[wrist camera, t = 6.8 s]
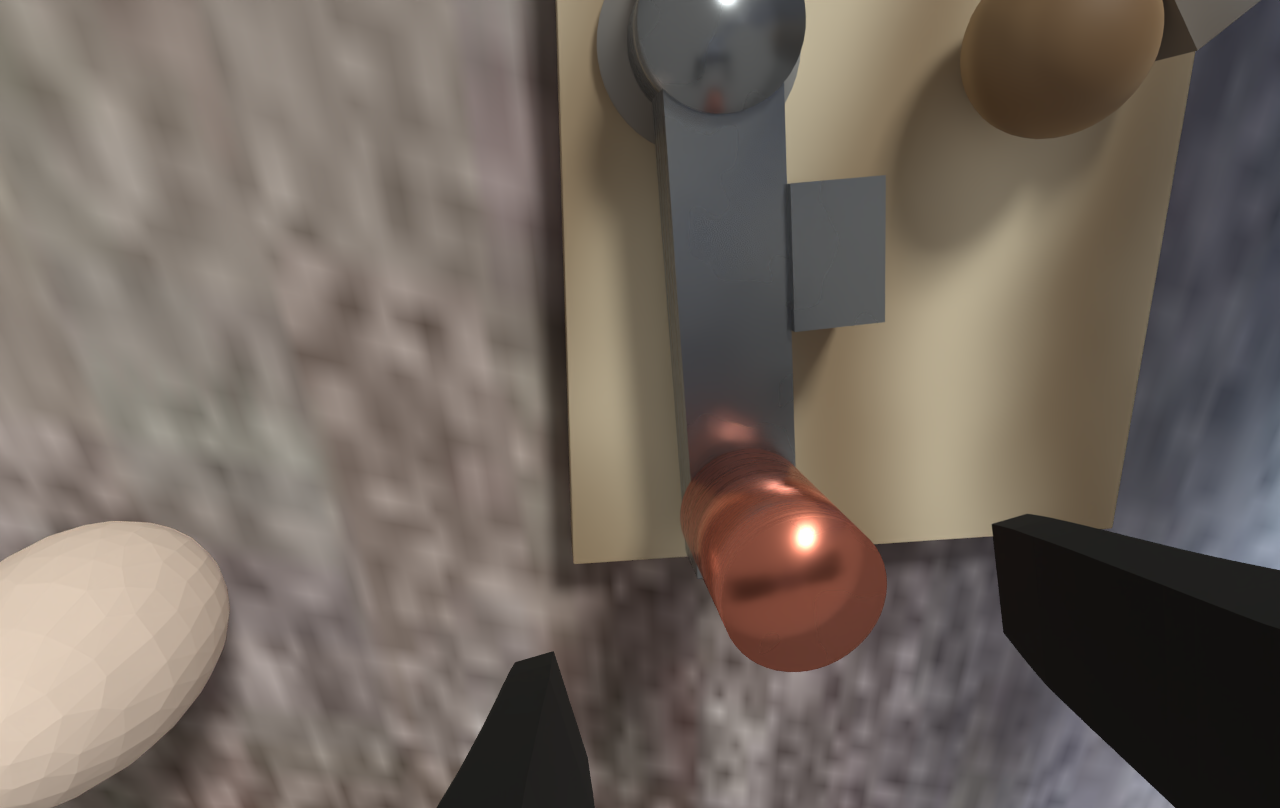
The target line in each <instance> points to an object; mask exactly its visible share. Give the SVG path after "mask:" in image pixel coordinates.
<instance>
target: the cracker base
mask: <svg viewBox="0 0 1280 808" xmlns="http://www.w3.org/2000/svg"><path fill="white" fill-rule="evenodd" d="M804 1H805V9H806V29H805V36H804V42H803V45H802V49H801V52H800V55H799V57H798V60H797V62H796V64H795V66H794V68H793V70H792V72H791V73H790V75H789V76H788V78H787V79H786V80H785V82H784V98H785V131H786V164H787V184H789V183H800V182H812V181H823V180H835V179H846V178H858V177H869V176H881V175H886V240H885V322H882V323H873V324H863V325H854V326H845V327H836V328H827V329H818V330H809V331H800V332H794V331H792V363H793V397H794V430H795V463H796V468H797V469H798V470H799V471H800V472H801V473H802V474H803V475H804V476H805V477H806V478H807V479H808V480H809V481H810V482H811V483H812V484H813V485H814V486H815V487H816V488H817V489H819V490H820V491H821V492H822V493H823V494H824V495H825V496H826V497H827V498H828V499H829V500H830V501H831V502H832V503H833V504H834V505H835V506H836V507H837V508H838V509H839V510H840V511H841V512H842V513H843V514H844V515H845V516H846V517H847V518H848V519H849V520H850V521H851V522H852V523H853V524H855V525H856V526H857V527H858V528H859V529H860V530H861V531H862V532H863V533H864V534H865V535H866V536H867V537H868V538H869V539H870V540H871V541H872V543H873V544H884V543H899V542H914V541H929V540H944V539H959V538H974V537H989V536H993V532H992V524H993V523H997V522H1000V521H1004V520H1007V519H1010V518H1014V517H1017V516H1021V515H1024V514H1033V515H1039V516H1045V517H1050V518H1055V519H1059V520H1064V521H1068V522H1072V523H1077V524H1081V525H1085V526H1089V527H1093V528H1097V529H1109V528H1112V526H1113V520H1114V514H1115V508H1116V503H1117V497H1118V491H1119V486H1120V480H1121V474H1122V468H1123V463H1124V457H1125V451H1126V445H1127V440H1128V434H1129V428H1130V423H1131V417H1132V411H1133V405H1134V400H1135V394H1136V388H1137V383H1138V377H1139V371H1140V365H1141V360H1142V354H1143V348H1144V342H1145V337H1146V331H1147V325H1148V320H1149V314H1150V308H1151V302H1152V297H1153V291H1154V285H1155V279H1156V274H1157V268H1158V262H1159V257H1160V251H1161V245H1162V239H1163V234H1164V228H1165V222H1166V216H1167V211H1168V205H1169V199H1170V194H1171V188H1172V182H1173V176H1174V171H1175V165H1176V159H1177V153H1178V148H1179V142H1180V136H1181V131H1182V125H1183V119H1184V113H1185V108H1186V102H1187V96H1188V90H1189V85H1190V79H1191V73H1192V68H1193V62H1194V56H1195V51H1198V50H1199V49H1200V48H1201V47H1203V46H1204V45H1205V44H1207V43H1208V42H1209V41H1210V40H1212V39H1213V38H1214V37H1215V36H1217V35H1218V34H1219V33H1220V32H1222V31H1223V30H1224V29H1225V28H1227V27H1228V26H1229V25H1230V24H1232V23H1233V22H1234V21H1235V20H1237V19H1238V18H1239V17H1240V16H1242V15H1243V14H1244V13H1246V12H1247V11H1248V10H1249V9H1251V8H1252V7H1253V6H1254V5H1256V4H1257V3H1258V2H1259V1H1261V0H804ZM635 2H636V0H555V3H556V36H557V70H558V103H559V137H560V170H561V204H562V237H563V271H564V304H565V338H566V371H567V405H568V438H569V472H570V505H571V539H572V552H573V561H574V564H582V563H597V562H612V561H628V560H643V559H658V558H673V557H688V556H687V554H686V550H685V538H684V536H683V532H682V529H681V522H680V510H681V503H682V496H681V483H680V470H679V457H678V443H677V430H676V417H675V403H674V390H673V377H672V363H671V350H670V337H669V323H668V310H667V297H666V283H665V270H664V257H663V244H662V230H661V217H660V204H659V190H658V177H657V164H656V150H655V137H654V124H653V110H652V102H651V101H650V100H649V99H648V98H647V97H646V96H645V94H644V93H643V91H642V90H641V89H640V87H639V85H638V83H637V81H636V79H635V77H634V74H633V72H632V69H631V66H630V62H629V57H628V50H627V32H628V24H629V19H630V15H631V12H632V9H633V7H634V4H635Z"/></svg>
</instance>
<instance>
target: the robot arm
mask: <svg viewBox="0 0 1280 808" xmlns="http://www.w3.org/2000/svg"><path fill="white" fill-rule="evenodd" d="M992 532H993V541H994V550H995V559H996V568H997V578H998V587H999V596H1000V605H1001V614H1002V623H1003V632H1004V634H1005V635H1006V636H1007V638H1008V639H1009V640H1010V641H1011V643H1012V644H1013V645H1014V647H1015V648H1016V649H1017V650H1018V652H1019V653H1020V654H1021V655H1022V657H1023V658H1024V659H1025V660H1026V662H1027V663H1028V664H1029V665H1030V666H1031V668H1032V669H1033V670H1034V671H1035V672H1036V674H1037V675H1038V676H1039V677H1040V678H1041V679H1042V681H1043V682H1044V683H1045V684H1046V685H1047V686H1048V687H1049V688H1050V689H1051V690H1052V691H1053V692H1054V693H1055V694H1056V695H1057V696H1058V697H1059V698H1060V699H1061V700H1062V701H1063V702H1064V703H1065V704H1066V705H1067V706H1068V707H1069V708H1070V709H1071V710H1072V711H1074V712H1075V713H1076V714H1077V715H1078V716H1079V717H1080V718H1081V719H1082V720H1083V721H1084V722H1085V723H1086V724H1087V725H1088V726H1089V727H1090V728H1091V729H1092V730H1093V731H1094V732H1096V733H1097V734H1098V735H1099V736H1100V737H1101V738H1102V739H1103V740H1104V741H1105V742H1106V743H1107V744H1108V745H1109V746H1110V747H1111V748H1113V749H1114V750H1115V751H1116V752H1117V753H1118V754H1119V755H1120V756H1121V757H1122V758H1123V759H1124V760H1125V761H1126V762H1127V763H1128V764H1130V765H1131V766H1132V767H1133V768H1134V769H1135V770H1136V771H1137V772H1138V773H1139V774H1140V775H1141V776H1142V777H1143V778H1144V779H1145V780H1147V781H1148V782H1149V783H1150V784H1151V785H1152V786H1153V787H1154V788H1155V789H1156V790H1157V791H1158V792H1159V793H1160V794H1161V795H1162V796H1164V797H1165V798H1166V799H1167V800H1168V801H1169V802H1170V803H1171V804H1172V805H1173V806H1174V807H1175V808H1280V570H1276V569H1271V568H1266V567H1261V566H1256V565H1251V564H1246V563H1241V562H1237V561H1232V560H1227V559H1222V558H1217V557H1213V556H1208V555H1204V554H1199V553H1195V552H1191V551H1186V550H1182V549H1178V548H1174V547H1169V546H1165V545H1161V544H1157V543H1153V542H1149V541H1145V540H1141V539H1137V538H1133V537H1129V536H1125V535H1121V534H1117V533H1113V532H1109V531H1105V530H1101V529H1097V528H1093V527H1089V526H1085V525H1081V524H1077V523H1072V522H1068V521H1064V520H1059V519H1055V518H1050V517H1045V516H1039V515H1033V514H1024V515H1021V516H1017V517H1014V518H1010V519H1007V520H1004V521H1000V522H997V523H993V524H992ZM437 808H595V806H594V799H593V791H592V784H591V777H590V771H589V764H588V757H587V754H586V751H585V748H584V745H583V742H582V739H581V735H580V732H579V729H578V726H577V723H576V720H575V717H574V713H573V710H572V707H571V704H570V701H569V698H568V695H567V692H566V688H565V685H564V682H563V679H562V676H561V673H560V670H559V666H558V663H557V660H556V657H555V654H554V651H553V652H549V653H546V654H542V655H539V656H535V657H532V658H528V659H525V660H522V661H518V662H515V663H514V665H513V667H512V668H511V670H510V672H509V674H508V676H507V678H506V680H505V682H504V684H503V686H502V688H501V690H500V692H499V695H498V697H497V699H496V701H495V703H494V705H493V707H492V709H491V711H490V713H489V715H488V717H487V719H486V721H485V723H484V725H483V727H482V729H481V731H480V733H479V734H478V736H477V738H476V740H475V742H474V744H473V746H472V747H471V749H470V751H469V753H468V755H467V757H466V759H465V761H464V762H463V764H462V766H461V768H460V770H459V771H458V773H457V775H456V777H455V778H454V780H453V782H452V783H451V785H450V787H449V788H448V790H447V791H446V793H445V795H444V796H443V798H442V800H441V801H440V803H439V805H438V806H437Z"/></svg>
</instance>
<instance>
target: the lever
mask: <svg viewBox="0 0 1280 808" xmlns="http://www.w3.org/2000/svg"><path fill="white" fill-rule="evenodd" d="M805 29H806V9H805V1H804V0H636V2H635V4H634V7H633V9H632V12H631V15H630V19H629V24H628V32H627V50H628V57H629V62H630V66H631V69H632V72H633V74H634V77H635V79H636V81H637V83H638V85H639V87H640V89H641V90H642V91H643V93H644V94H645V96H646V97H647V98H648V99H649V100H650V101H651V102H652V110H653V124H654V137H655V150H656V164H657V177H658V190H659V204H660V217H661V230H662V244H663V257H664V270H665V283H666V297H667V310H668V323H669V337H670V350H671V363H672V377H673V390H674V403H675V417H676V430H677V443H678V457H679V470H680V483H681V496H682V503H681V510H680V522H681V529H682V532H683V536H684V538H685V550H686V554H687V556H688V558H689V560H690V563H691V565H692V567H693V569H694V572H695V574H696V576H697V579H700V578H703V580H704V582H705V584H706V586H707V588H708V590H709V593H710V595H711V597H712V599H713V601H714V604H715V606H716V608H717V610H718V612H719V615H720V617H721V619H722V621H723V623H724V626H725V628H726V630H727V632H728V634H729V636H730V638H731V640H732V641H733V643H734V644H735V646H736V647H737V648H738V649H739V650H740V651H741V652H742V653H743V654H744V655H745V656H746V657H748V658H749V659H750V660H752V661H754V662H755V663H757V664H759V665H762V666H764V667H766V668H770V669H773V670H777V671H784V672H801V671H809V670H814V669H818V668H821V667H824V666H827V665H829V664H831V663H833V662H836V661H838V660H839V659H841V658H843V657H844V656H846V655H847V654H849V653H850V652H851V651H853V650H854V649H855V648H856V647H857V646H858V645H859V644H860V643H861V642H863V641H864V639H865V638H866V637H867V636H868V634H869V633H870V632H871V630H872V629H873V627H874V626H875V624H876V623H877V621H878V618H879V616H880V614H881V612H882V609H883V606H884V602H885V598H886V590H887V578H886V571H885V566H884V563H883V560H882V558H881V555H880V553H879V552H878V550H877V548H876V547H875V545H874V544H873V543H872V541H871V540H870V539H869V538H868V537H867V536H866V535H865V534H864V533H863V532H862V531H861V530H860V529H859V528H858V527H857V526H856V525H855V524H853V523H852V522H851V521H850V520H849V519H848V518H847V517H846V516H845V515H844V514H843V513H842V512H841V511H840V510H839V509H838V508H837V507H836V506H835V505H834V504H833V503H832V502H831V501H830V500H829V499H828V498H827V497H826V496H825V495H824V494H823V493H822V492H821V491H820V490H819V489H817V488H816V487H815V486H814V485H813V484H812V483H811V482H810V481H809V480H808V479H807V478H806V477H805V476H804V475H803V474H802V473H801V472H800V471H799V470H798V469H797V468H796V463H795V430H794V397H793V363H792V331H794V332H800V331H809V330H818V329H827V328H836V327H845V326H854V325H863V324H873V323H882V322H885V240H886V175H881V176H869V177H858V178H846V179H835V180H823V181H812V182H800V183H789V184H787V164H786V131H785V98H784V82H785V80H786V79H787V78H788V76H789V75H790V73H791V72H792V70H793V68H794V66H795V64H796V62H797V60H798V57H799V55H800V52H801V49H802V45H803V42H804V36H805Z"/></svg>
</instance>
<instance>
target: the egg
mask: <svg viewBox="0 0 1280 808" xmlns="http://www.w3.org/2000/svg"><path fill="white" fill-rule="evenodd" d="M229 610H230V605H229V598H228V591H227V587H226V584H225V582H224V579H223V576H222V574H221V571H220V569H219V566H218V564H217V563H216V562H215V560H214V559H213V558H212V557H211V555H210V554H209V553H208V552H207V551H206V550H205V549H204V548H203V547H202V546H201V545H199V544H198V543H197V542H196V541H195V540H194V539H193V538H191V537H189V536H187V535H185V534H183V533H181V532H179V531H177V530H175V529H173V528H169V527H165V526H161V525H157V524H154V523H146V522H125V521H109V522H102V523H96V524H89V525H84V526H80V527H77V528H74V529H70V530H67V531H64V532H61V533H57V534H54V535H51V536H48V537H46V538H44V539H42V540H40V541H38V542H36V543H34V544H32V545H31V546H29V547H27V548H25V549H23V550H21V551H19V552H17V553H15V554H13V555H11V556H9V557H7V558H5V559H4V560H3V561H1V562H0V808H52V807H54V806H57V805H59V804H62V803H64V802H67V801H69V800H71V799H74V798H76V797H78V796H79V795H81V794H83V793H84V792H86V791H88V790H89V789H91V788H93V787H94V786H96V785H98V784H99V783H101V782H103V781H104V780H106V779H108V778H109V777H111V776H113V775H114V774H116V773H118V772H119V771H121V770H123V769H124V768H126V767H128V766H129V765H131V764H132V763H133V762H134V761H136V760H137V759H138V758H139V757H140V756H141V755H143V754H144V753H145V752H146V751H147V750H148V749H150V748H151V747H152V746H153V745H154V744H155V743H156V742H157V741H158V740H159V739H161V738H162V737H163V736H164V735H165V734H166V733H167V732H168V731H169V730H170V729H172V728H173V727H174V726H175V725H176V723H177V722H178V721H179V720H180V718H181V717H182V716H183V715H184V713H185V712H186V711H187V710H188V708H189V707H190V706H191V705H192V703H193V702H194V701H195V700H196V698H197V697H198V696H199V695H200V693H201V692H202V690H203V688H204V687H205V685H206V683H207V681H208V680H209V678H210V676H211V674H212V672H213V670H214V668H215V666H216V664H217V662H218V659H219V657H220V655H221V653H222V650H223V647H224V644H225V641H226V635H227V627H228V619H229Z"/></svg>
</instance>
